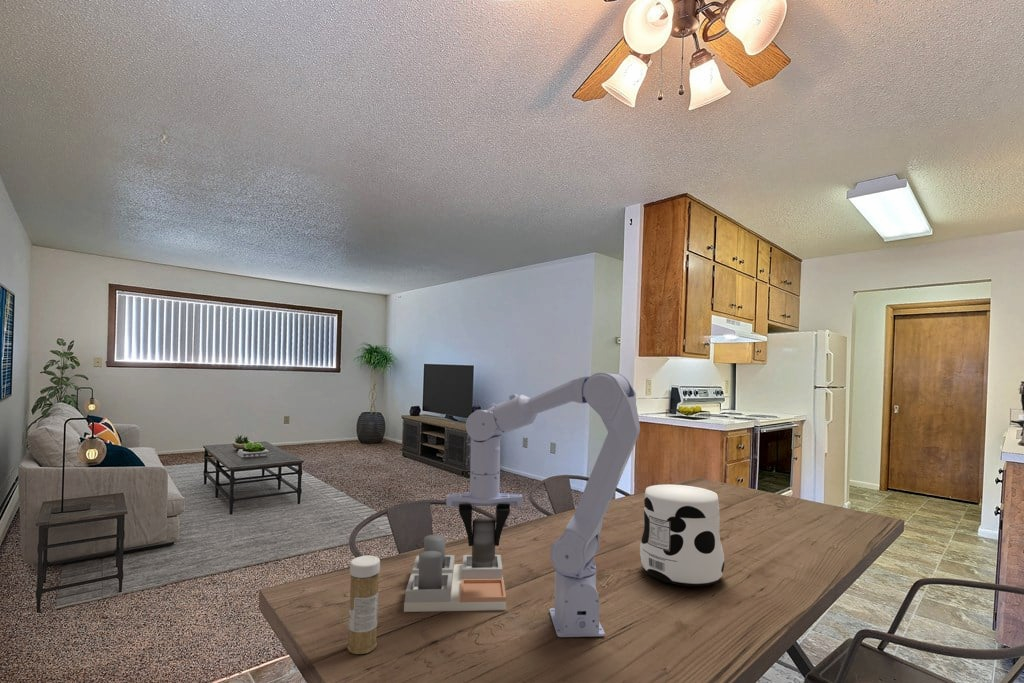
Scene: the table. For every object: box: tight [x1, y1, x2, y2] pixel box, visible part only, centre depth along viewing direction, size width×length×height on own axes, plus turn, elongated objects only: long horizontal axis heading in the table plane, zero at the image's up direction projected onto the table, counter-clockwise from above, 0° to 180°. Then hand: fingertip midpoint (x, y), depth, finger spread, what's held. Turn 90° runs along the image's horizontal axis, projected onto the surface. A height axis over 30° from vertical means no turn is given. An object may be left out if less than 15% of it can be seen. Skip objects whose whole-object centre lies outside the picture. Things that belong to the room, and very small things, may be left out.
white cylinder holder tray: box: [403, 534, 507, 613], centre depth 101 cm, size 18×18×8 cm
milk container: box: [639, 484, 725, 587], centre depth 110 cm, size 17×17×18 cm
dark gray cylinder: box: [471, 517, 496, 563], centre depth 97 cm, size 4×4×7 cm
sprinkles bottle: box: [347, 555, 381, 655], centre depth 80 cm, size 5×5×13 cm
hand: (483, 544), depth 97 cm, fingers closed on dark gray cylinder, 4 cm apart
